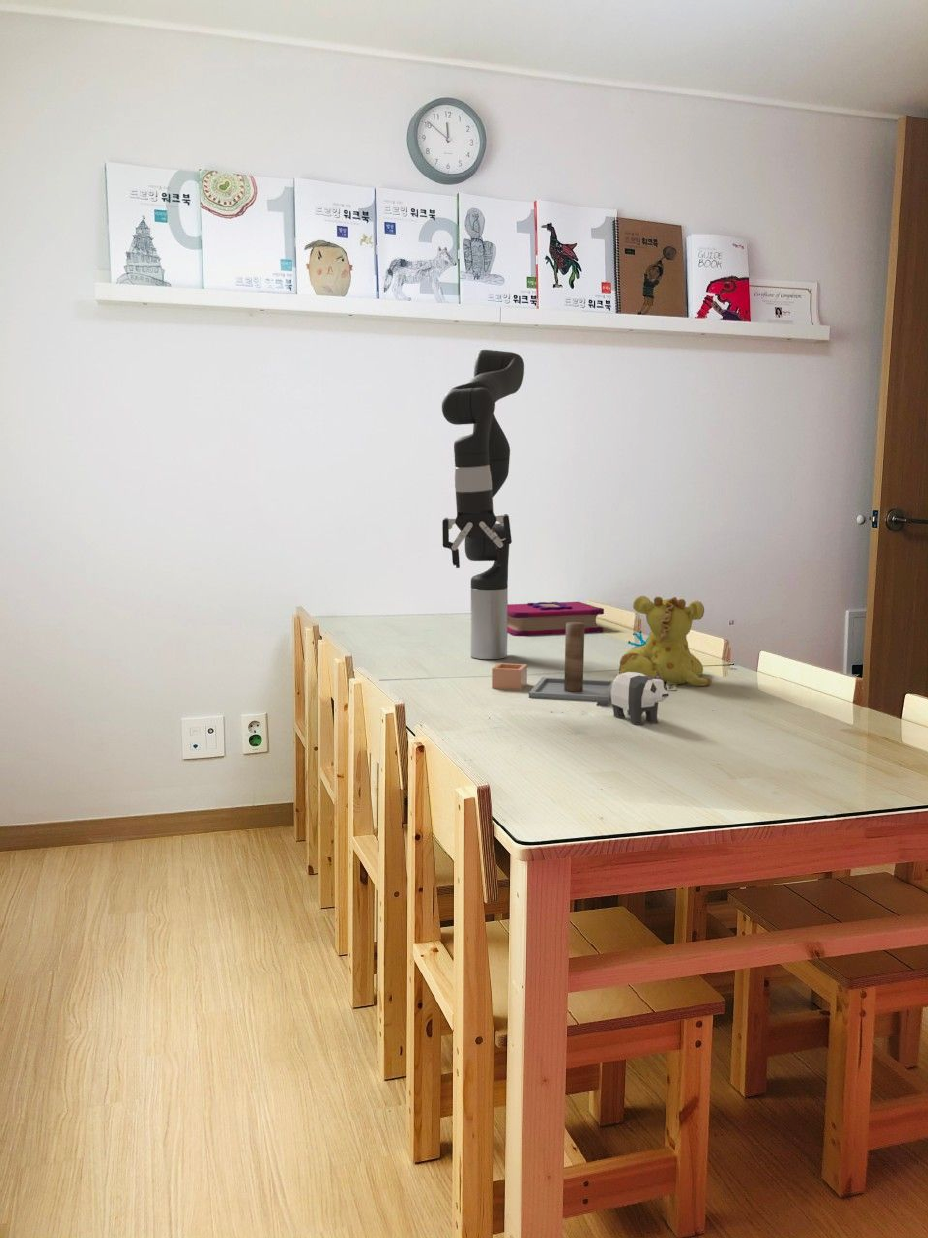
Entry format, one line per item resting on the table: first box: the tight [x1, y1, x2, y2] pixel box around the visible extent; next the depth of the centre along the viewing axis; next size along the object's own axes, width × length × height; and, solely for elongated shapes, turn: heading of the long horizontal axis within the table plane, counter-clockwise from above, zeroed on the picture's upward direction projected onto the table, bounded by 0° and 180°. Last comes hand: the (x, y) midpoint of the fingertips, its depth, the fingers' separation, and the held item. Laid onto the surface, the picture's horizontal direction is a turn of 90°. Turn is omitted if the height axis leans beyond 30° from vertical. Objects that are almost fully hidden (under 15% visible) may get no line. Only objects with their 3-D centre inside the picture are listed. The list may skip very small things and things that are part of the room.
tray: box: [528, 676, 614, 707], centre depth 211 cm, size 16×16×2 cm
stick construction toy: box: [627, 631, 651, 649], centre depth 254 cm, size 12×7×8 cm
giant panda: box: [610, 672, 669, 726], centre depth 188 cm, size 15×6×10 cm, turn 25°
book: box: [507, 601, 605, 637], centre depth 300 cm, size 21×28×8 cm
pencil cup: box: [491, 662, 528, 691], centre depth 216 cm, size 6×6×5 cm
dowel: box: [564, 622, 585, 692], centre depth 209 cm, size 4×4×14 cm
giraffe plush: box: [618, 595, 713, 692], centre depth 225 cm, size 20×24×19 cm
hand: (478, 566), depth 211 cm, fingers open, 8 cm apart
